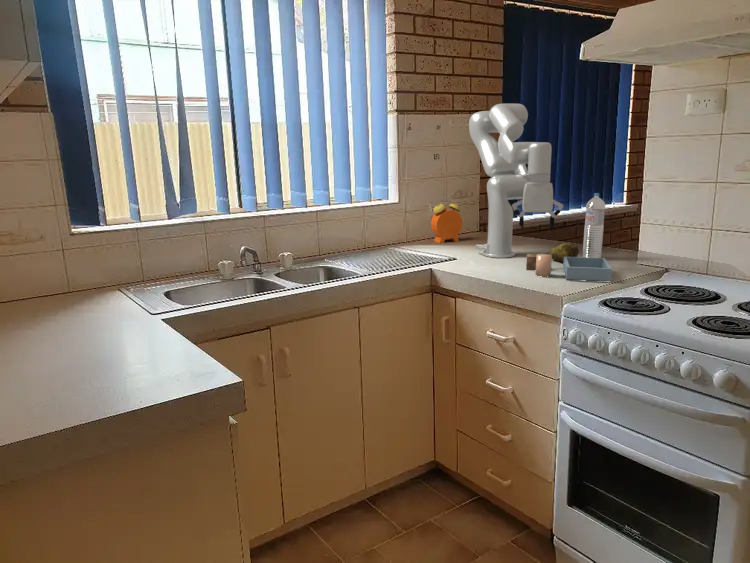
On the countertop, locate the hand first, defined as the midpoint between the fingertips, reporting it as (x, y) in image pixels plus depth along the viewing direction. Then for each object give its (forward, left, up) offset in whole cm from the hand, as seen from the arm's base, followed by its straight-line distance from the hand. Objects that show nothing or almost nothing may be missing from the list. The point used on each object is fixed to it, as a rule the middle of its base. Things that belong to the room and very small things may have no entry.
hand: (536, 228), depth 202 cm
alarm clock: (-38, +52, -15) cm, 66 cm away
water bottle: (+22, +23, -15) cm, 35 cm away
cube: (0, 0, -15) cm, 15 cm away
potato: (+11, +13, -15) cm, 23 cm away
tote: (+17, -7, -15) cm, 23 cm away
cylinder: (+3, -10, -15) cm, 18 cm away
